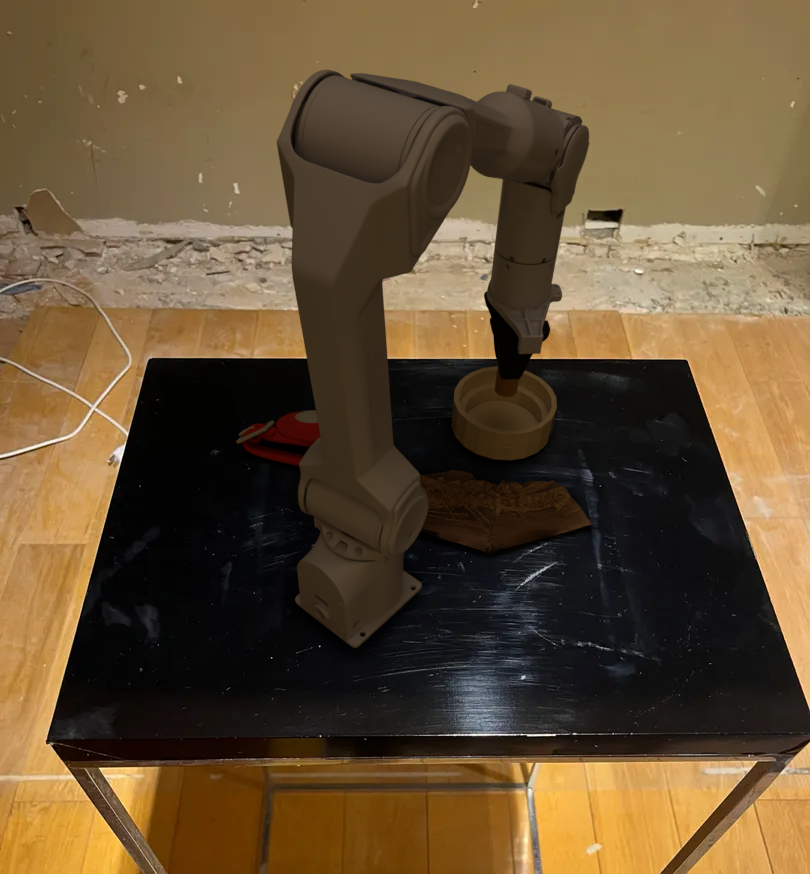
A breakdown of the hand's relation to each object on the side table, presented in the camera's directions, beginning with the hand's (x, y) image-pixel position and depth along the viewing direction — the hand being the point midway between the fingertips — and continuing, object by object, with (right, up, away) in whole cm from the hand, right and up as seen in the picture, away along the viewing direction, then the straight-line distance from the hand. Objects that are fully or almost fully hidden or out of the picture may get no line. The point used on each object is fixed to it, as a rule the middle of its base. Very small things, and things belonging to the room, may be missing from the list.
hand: (508, 368), depth 85 cm
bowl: (0, -5, +8) cm, 10 cm away
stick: (0, -2, +2) cm, 3 cm away
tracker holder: (-22, -7, +6) cm, 24 cm away
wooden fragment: (-5, -15, 0) cm, 16 cm away
